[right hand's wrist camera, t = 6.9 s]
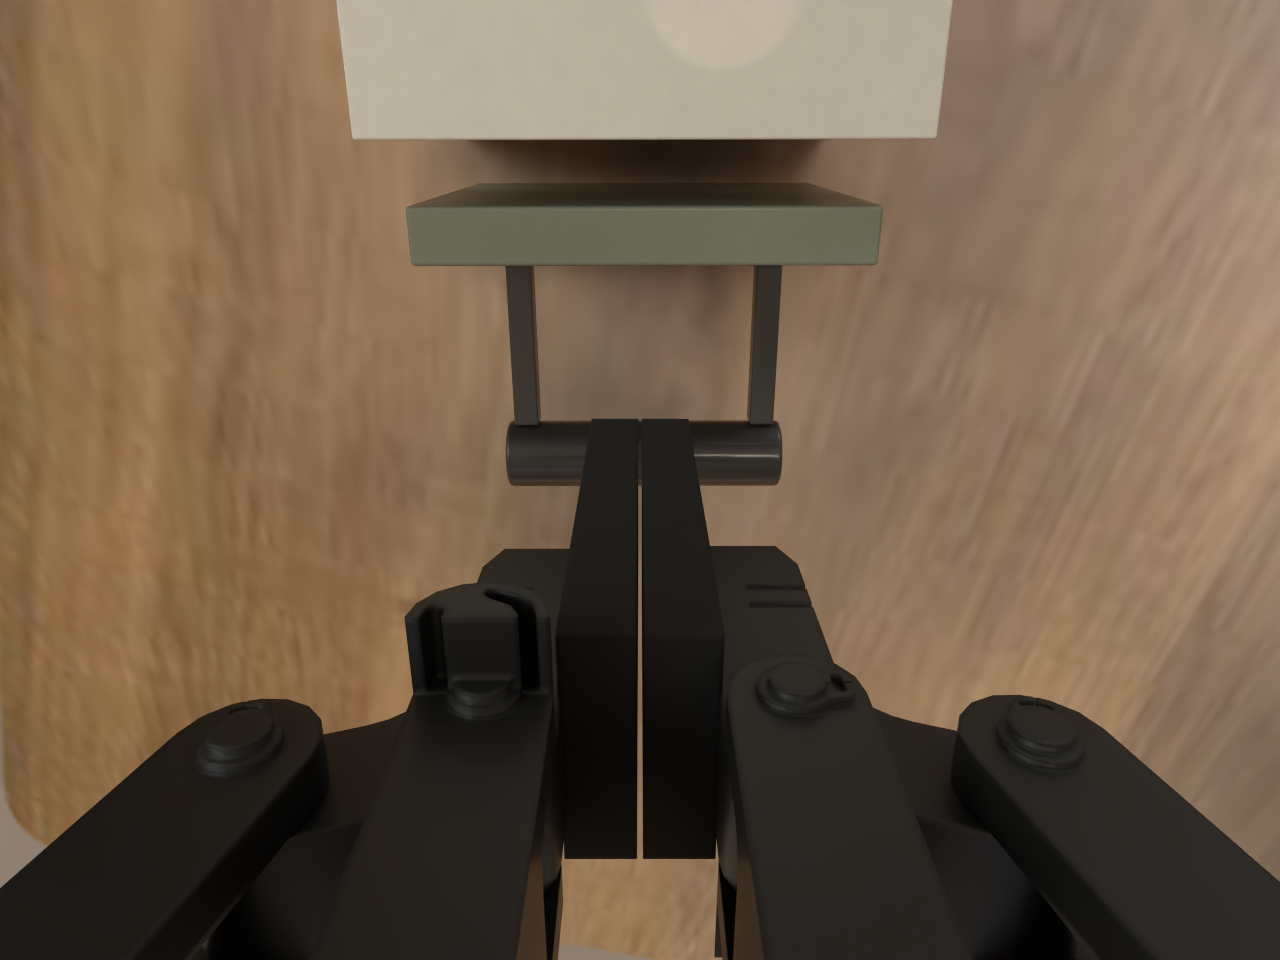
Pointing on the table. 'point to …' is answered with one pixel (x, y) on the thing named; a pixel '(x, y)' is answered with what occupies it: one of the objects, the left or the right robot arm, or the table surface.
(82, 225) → the table surface
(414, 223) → the drawer
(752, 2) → the cabinet
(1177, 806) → the right robot arm
